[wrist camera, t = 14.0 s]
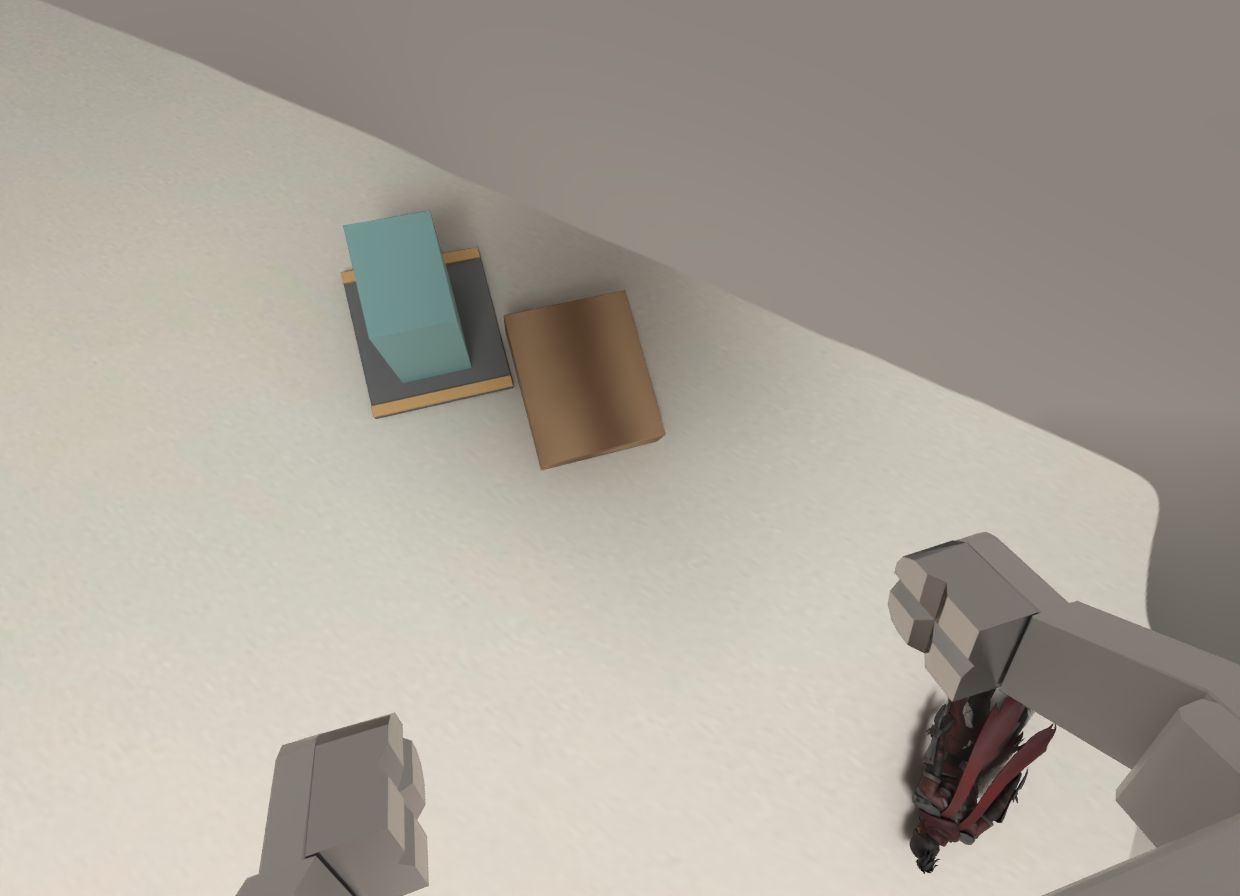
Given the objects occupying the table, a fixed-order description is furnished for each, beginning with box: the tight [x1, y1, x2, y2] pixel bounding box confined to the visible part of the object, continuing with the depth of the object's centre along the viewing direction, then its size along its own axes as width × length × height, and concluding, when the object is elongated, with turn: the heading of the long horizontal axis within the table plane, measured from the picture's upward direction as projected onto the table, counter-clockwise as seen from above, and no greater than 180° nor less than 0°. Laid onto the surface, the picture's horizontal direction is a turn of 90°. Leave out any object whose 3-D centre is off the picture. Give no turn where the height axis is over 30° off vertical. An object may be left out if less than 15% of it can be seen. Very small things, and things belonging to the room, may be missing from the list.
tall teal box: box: [343, 210, 472, 383], centre depth 43 cm, size 5×7×10 cm
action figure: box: [910, 688, 1056, 874], centre depth 46 cm, size 8×6×18 cm
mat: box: [341, 247, 513, 419], centre depth 48 cm, size 10×11×1 cm
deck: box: [504, 290, 665, 470], centre depth 48 cm, size 9×11×3 cm
